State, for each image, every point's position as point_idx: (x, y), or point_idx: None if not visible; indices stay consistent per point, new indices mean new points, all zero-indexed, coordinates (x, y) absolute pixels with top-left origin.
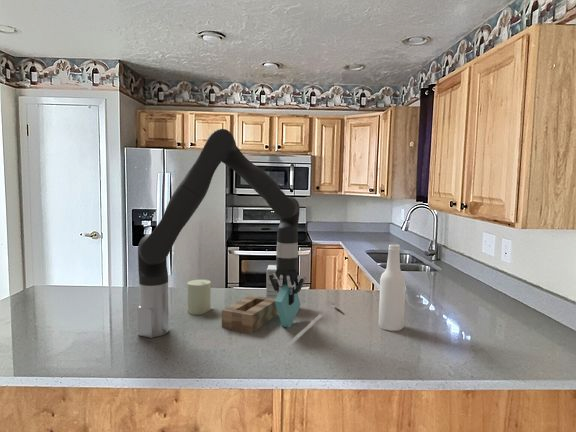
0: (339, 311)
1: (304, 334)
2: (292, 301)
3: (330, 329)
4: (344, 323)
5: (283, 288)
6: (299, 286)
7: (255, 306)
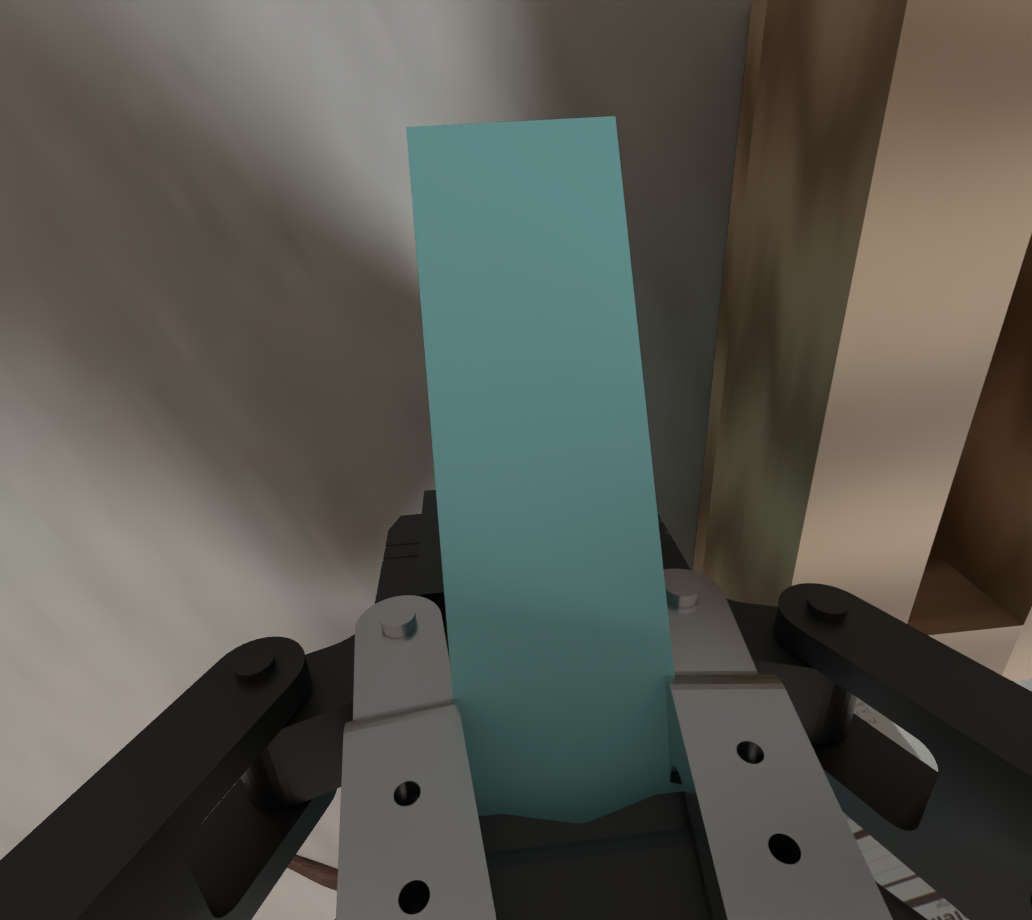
0: (310, 864)
1: (266, 350)
2: (393, 535)
3: (145, 571)
4: (139, 722)
5: (591, 631)
6: (45, 847)
7: (967, 369)
